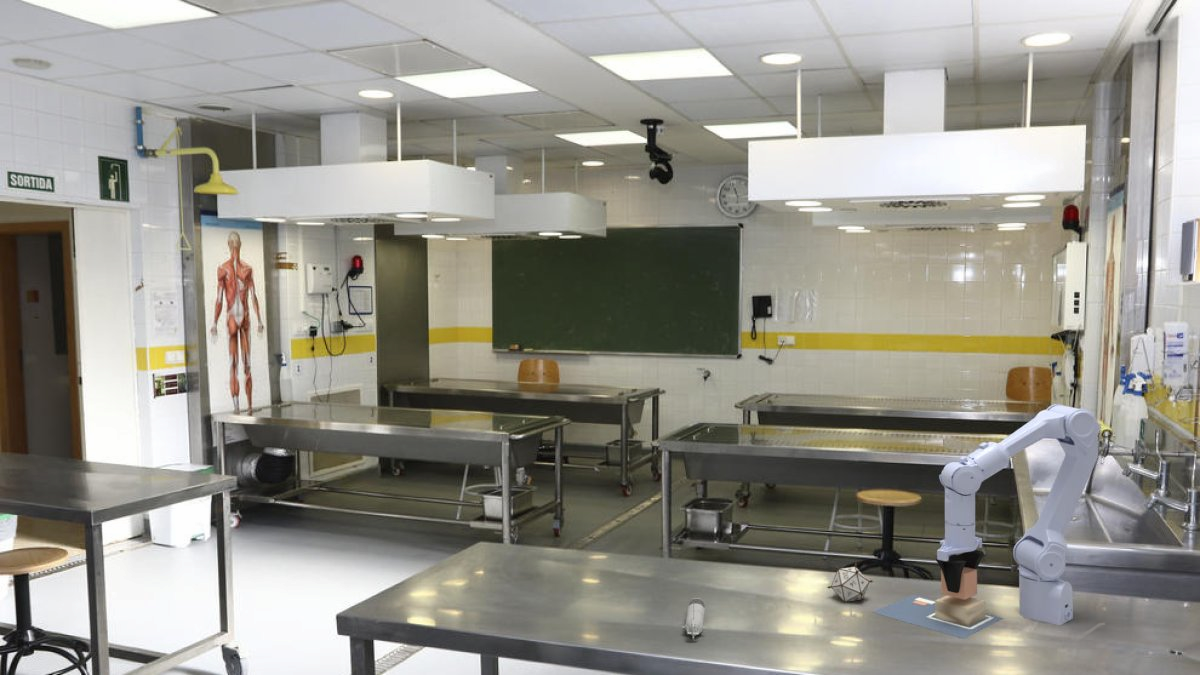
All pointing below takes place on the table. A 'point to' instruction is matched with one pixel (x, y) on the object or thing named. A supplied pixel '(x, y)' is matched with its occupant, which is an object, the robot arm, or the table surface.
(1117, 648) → the table surface
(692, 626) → the torpedo
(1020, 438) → the robot arm
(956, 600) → the beech block
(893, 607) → the board
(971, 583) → the terracotta cube
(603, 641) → the table surface
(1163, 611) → the table surface
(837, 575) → the game die
